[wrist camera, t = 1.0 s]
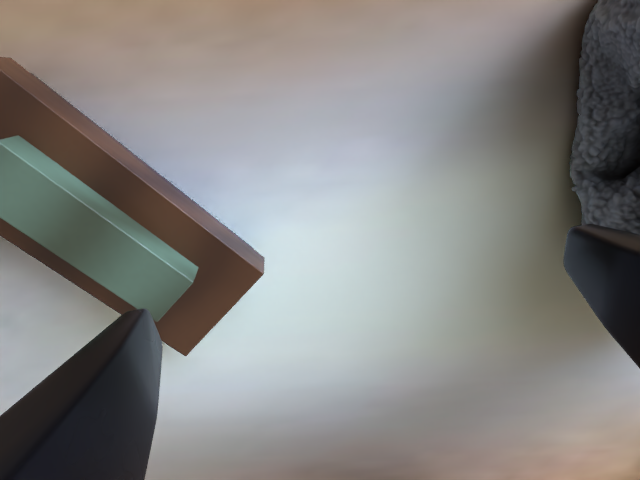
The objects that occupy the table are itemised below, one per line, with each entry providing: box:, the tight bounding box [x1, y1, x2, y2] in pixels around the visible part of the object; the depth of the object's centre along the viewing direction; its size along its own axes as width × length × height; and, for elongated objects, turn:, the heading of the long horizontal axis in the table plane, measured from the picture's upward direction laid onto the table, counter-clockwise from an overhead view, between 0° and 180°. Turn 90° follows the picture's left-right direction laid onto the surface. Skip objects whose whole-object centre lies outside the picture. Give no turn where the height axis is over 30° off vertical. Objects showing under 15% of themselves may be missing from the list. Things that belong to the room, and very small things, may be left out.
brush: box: [0, 57, 264, 356], centre depth 20 cm, size 14×6×5 cm, turn 46°
